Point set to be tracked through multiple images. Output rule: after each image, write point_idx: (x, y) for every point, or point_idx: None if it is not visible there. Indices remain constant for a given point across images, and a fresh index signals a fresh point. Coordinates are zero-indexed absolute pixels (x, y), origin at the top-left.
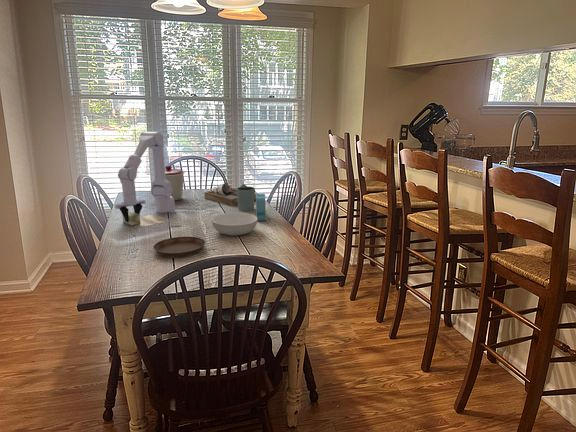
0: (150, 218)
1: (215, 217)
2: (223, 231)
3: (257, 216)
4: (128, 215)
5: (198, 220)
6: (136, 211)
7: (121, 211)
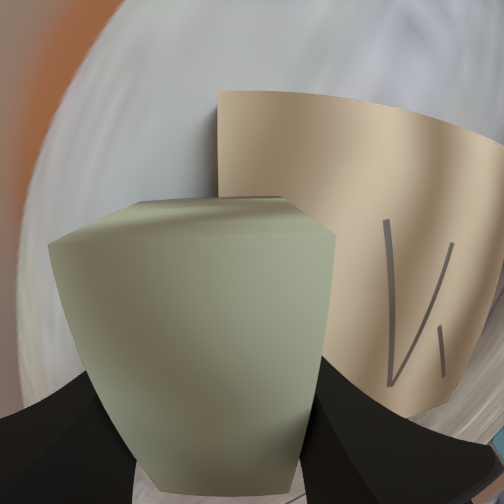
0: (455, 269)
1: None
2: None
3: (495, 449)
4: (141, 462)
5: (496, 387)
6: (313, 471)
7: (19, 438)
